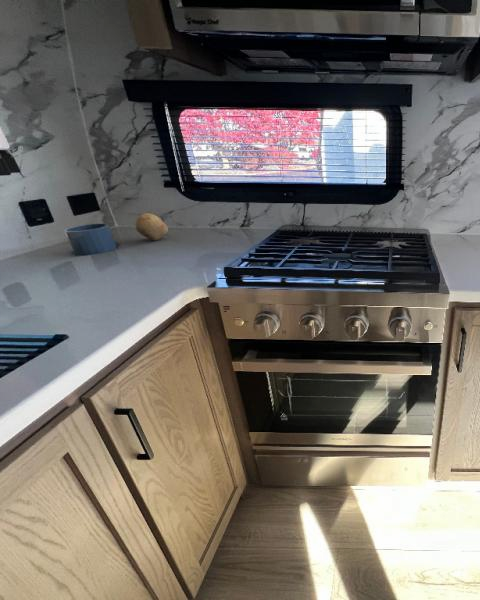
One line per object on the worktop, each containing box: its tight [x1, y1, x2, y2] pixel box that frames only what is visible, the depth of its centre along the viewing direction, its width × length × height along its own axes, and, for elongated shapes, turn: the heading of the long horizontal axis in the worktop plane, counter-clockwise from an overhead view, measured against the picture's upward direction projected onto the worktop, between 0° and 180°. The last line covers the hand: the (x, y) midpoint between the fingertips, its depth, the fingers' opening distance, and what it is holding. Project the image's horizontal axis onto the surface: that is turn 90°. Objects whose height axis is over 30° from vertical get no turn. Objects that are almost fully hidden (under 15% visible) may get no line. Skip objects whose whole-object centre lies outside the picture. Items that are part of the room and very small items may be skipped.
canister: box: [63, 222, 118, 257], centre depth 112 cm, size 11×11×8 cm
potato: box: [135, 212, 169, 241], centre depth 122 cm, size 9×9×10 cm
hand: (8, 174), depth 89 cm, fingers open, 9 cm apart
